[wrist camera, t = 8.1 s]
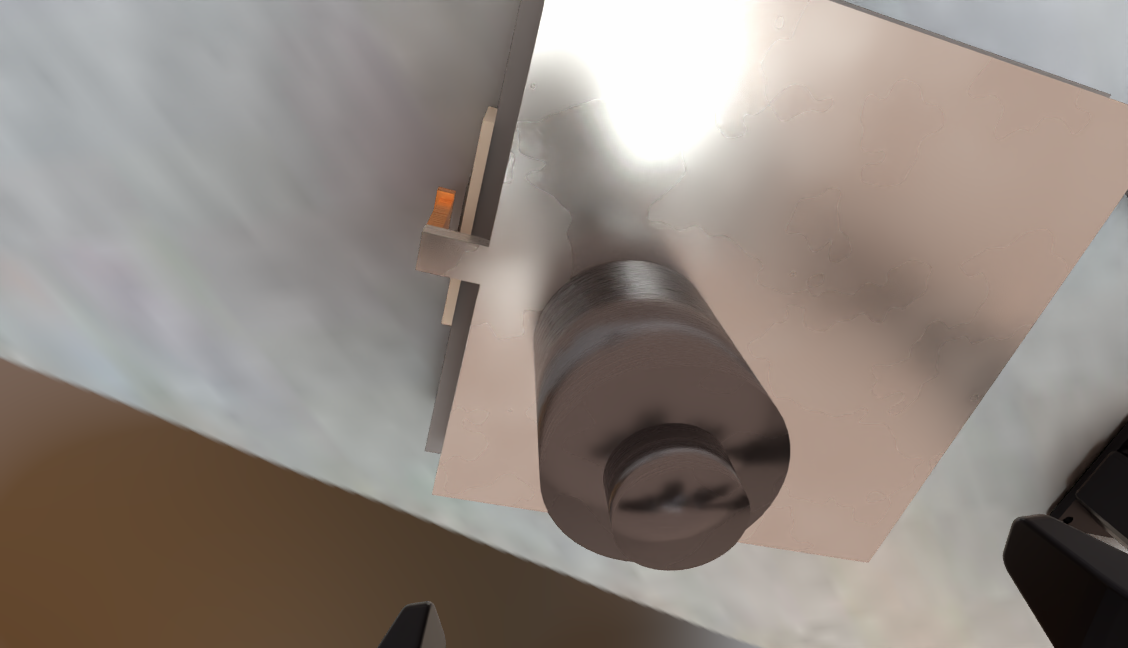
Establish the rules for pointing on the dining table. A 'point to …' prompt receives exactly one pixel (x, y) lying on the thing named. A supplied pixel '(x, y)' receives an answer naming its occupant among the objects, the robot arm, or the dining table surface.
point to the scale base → (490, 179)
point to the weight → (650, 420)
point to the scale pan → (783, 232)
